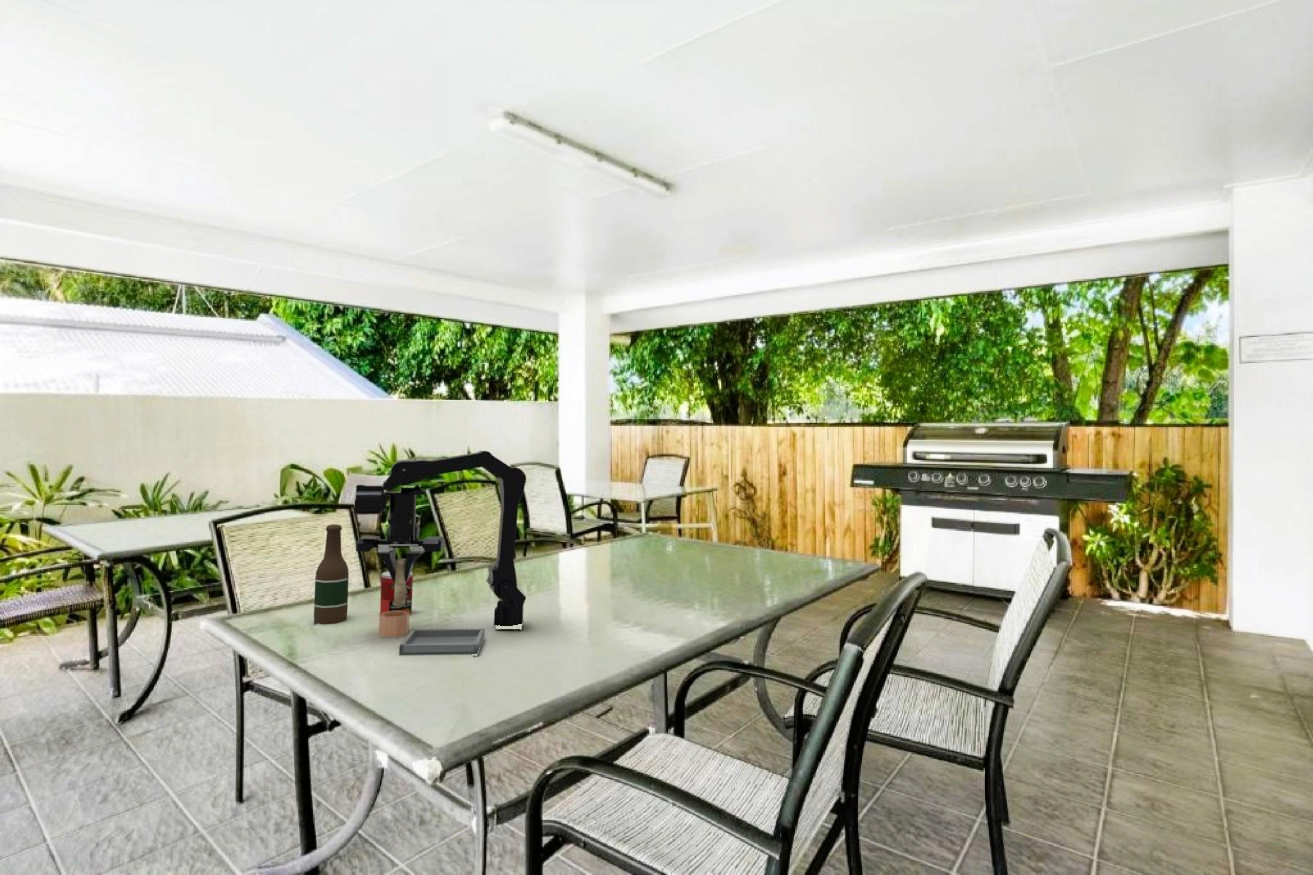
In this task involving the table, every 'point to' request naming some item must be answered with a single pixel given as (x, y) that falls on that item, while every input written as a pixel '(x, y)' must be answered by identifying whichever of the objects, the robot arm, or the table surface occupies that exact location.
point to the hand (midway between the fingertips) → (400, 580)
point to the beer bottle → (331, 582)
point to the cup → (394, 623)
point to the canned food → (389, 591)
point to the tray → (442, 642)
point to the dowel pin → (400, 582)
